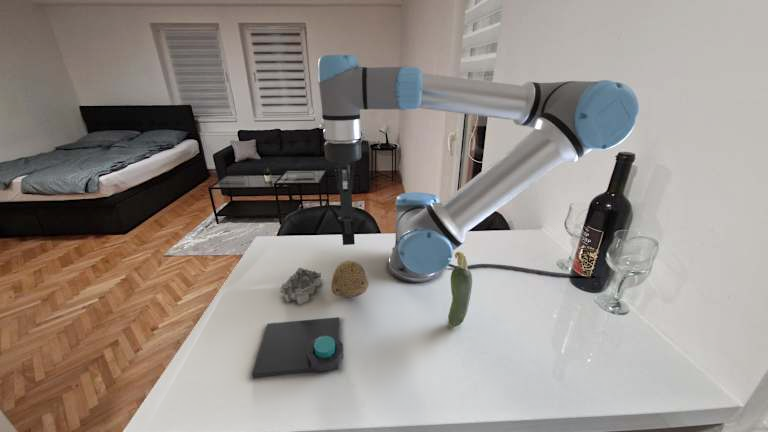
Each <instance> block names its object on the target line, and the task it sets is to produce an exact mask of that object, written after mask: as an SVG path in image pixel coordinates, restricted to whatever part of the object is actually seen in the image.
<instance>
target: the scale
mask: <svg viewBox="0 0 768 432" xmlns="http://www.w3.org/2000/svg"><path fill="white" fill-rule="evenodd" d="M323 336H329V337H332V338H333V339H334V341H335V353H334V354H333V355H332V356H331V357H329V358H326V359H320V358H318V357H317V356H316V355H315V350H314V343H315V341H316V340H317V339H319V338H320V337H323ZM343 359H344V344H343V342H342V341H341V340H340V317H338V316H337V317H328V318H317V319H316V318H315V319H306V320H305V319H304V320H303V319H302V320H294V321H293V320H292V321H283V322H281V321H280V322H270V323H269V322H268V323H267V325H266V328H265V330H264V334H263V336H262V341H261V343H260V346H259V350H258V353H257V356H256V360H255V364H254V366H253V369H252V373H251V375H252V379H261V378H270V377H278V376H279V377H280V376H287V375H288V376H289V375H298V374H306V373H307V374H308V373H314V372H317V373H318V372H326V371H334V370H335V371H336V370H339V369H340V367H339V366H340V364H341V362H342V360H343Z"/></svg>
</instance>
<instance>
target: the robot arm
mask: <svg viewBox="0 0 768 432" xmlns="http://www.w3.org/2000/svg"><path fill="white" fill-rule="evenodd" d="M317 65H318V88H319V97H320V107H321V118H322V123H320V124H319V128H320V129H322V130H323V138H324V139H325V140H326V141H325V143H324V145H323V146H324V157H325V160H326V161H328V162H330V163H337V164H338V166H335V167H334V177H335V179H336V189H337V190H338V191H339V203H340V216H338V219H337V221H341V222H340V223H341V237H342V246H350V245H351V246H352V245H355V244H356V243H355V224H354V223H355V222H354V220H355V219H354V213H356V208H355V207H353V193H352V191H353V190H354V179H355V169H354V166H353V165H350V163H353V162H357V161H359V160H361V158H362V142H361V141H360V139H361V138H362V124H361V121H362V120H361V114H360V113H361V110H365V111H366V110H401V111H405V110H417V109H423V110H432V111H438V112H446V113H447V112H448V113H455V114H462V115H469V116H478V117H487V118H494V119H501V120H503V119H504V120H511V121H512V122H513V123H514V124H515V125H516V126H522V127H529V128H532V129H533V130H532V131H530V132H529V133H528V134H527V135H526V136H524V137H522V139H520V140H519V141H518V142H517V143H516V144H514V145H513V146H512V147H510V148H509V149H508V150H506V151H505V152H504V153H502V155H501V156H499V157H498V158H496V160H494V161H493V162H492V163H490V164H489V165H487V167H486V168H484V169H483V170H481V171H480V172H479V173H478V174H476V175H475V176H474V177H473V178H472V179H470V180H469V181H467V182H466V183H465V184H464V185H463V186H462V187H460V188H458V190H456V191H455V192H454V193H452V194H451V195H450V196H449V197H448V198H447V199H445V200H444V201H442V202H440V198H439V196H438V195H436V194H433V193H430V192H423V191H422V192H421V191H416V192H415V191H411V192H404V193H401V194H399V195H398V196H397V197H396V200H395V244H394V247H392V251H391V254H390V257H389V260H388V269H389V271H390V273H391V275H393V276H394V277H395V278H397V279H399V280H401V281H404V282H408V283H426V282H429V281H432V280H434V279H436V278H437V277H438V276H439V274H440V273H441V272H442V271H444V270H445V269H447V267H450V268H452V269H455V268H456V267H458V266H459V265H454V264H452V263H451V262H452V260H453V256H454V251H455V250H456V249H457V248H459V247H460V246H462V245H463V244H464V243H465V241H466V234H467V233H468V232H469V231H470V230H472V229H473V228H474V227H476V226H477V225H479V224H480V223H482V222H483V221H484V220H485V219H486V218H488V217H490V216H491V215H493V213H494V212H497V210H499V209H500V208H502V207H503V206H504V205H506V204H507V203H508V202H509V201H511V200H513V199H514V198H515V197H516V196H517V195H519V194H521V192H523V191H524V190H526V189H527V188H529V187H530V186H532V185H533V184H534V183H535V182H536V181H538V180H540V179H541V178H542V177H543V176H545V175H546V174H547V173H548V172H550V171H552V170H553V169H554V168H555V167H557V166H558V165H559V164H561V163H563V162H565V163H575V162H577V161H578V160H579V159H581V158H583V157H584V156H585V155H587V154H588V153H589V152H590V151H592V150H594V151H602V150H608V149H611V148H615V147H616V146H618V145H620V144H621V143H622V142H624V141H625V140H626V138H628V137H629V135H630V134H631V133H632V131H633V129H634V128H635V125H636V124H637V120H636V119H637V116H638V115H639V110H640V108H639V100H638V97H637V95H636V93H635V91H634V89H632V88H631V87H630V86H629V85H627V84H625V83H623V82H618V81H613V80H608V79H603V80H597V81H587V80H586V81H585V80H583V81H582V80H569V81H555V82H536V81H535V82H534V81H527V82H525V83H523V84H522V85H520V84H511V83H503V82H495V81H487V80H479V79H471V78H464V77H455V76H448V75H440V74H432V73H424V72H422V70H421V69H420V68H419V67H415V66H414V67H413V66H406V65H402V66H379V67H378V66H375V67H367V66H360V63H359V59H358V57H357V56H356V55H354V54H325V55H322V56H320V58H319V59H318V64H317ZM481 267H486V268H487V267H489V268H501V269H502V268H503V269H511V270H518V271H524V272H531V273H536V274H537V273H538V274H544V275H550V276H558V277H559V276H560V277H572V278H574V277H573V276H572V275H571V274H572V273H566V272H565V273H564V272H556V271H555V272H554V271H549V270H548V271H547V270H541V269H535V268H527V267H522V266H521V267H520V266H514V265H506V264H495V263H477V264H471V265H467V268H468V269H472V268H473V269H474V268H481Z"/></svg>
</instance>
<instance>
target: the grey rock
mask: <svg viewBox="0 0 768 432" xmlns="http://www.w3.org/2000/svg"><path fill="white" fill-rule="evenodd" d="M321 278H322V273H321V272H316V270H311V269H307V268H306V269H304V268H303V267H298V268H297V269H296V271H295V272H294V273H293V274H292V275H290V277H289V278H288V279H287V280H286V281H285V282H284V283H282V284H281V285H280V289H279V294H282V295H283V298H284V301H285V302H288V303H290V302H291V301H296V302H297V305H298V304H299V305H302V304H304V303H307V302H308V301H310V295H311V294H312V295H313V294H314V293H315V290H316V289H315V287H319V286H320V285H321V282H320V280H321ZM295 288H297V289H295ZM293 289H295V290H294V291H293Z"/></svg>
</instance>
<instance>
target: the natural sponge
mask: <svg viewBox="0 0 768 432" xmlns="http://www.w3.org/2000/svg"><path fill="white" fill-rule="evenodd" d="M330 286H331V287H330V289H331V292H332V294H333V295H335V296H337V297H343V298H356V297H359V296H361V295H363V294H364V293H365V292H366V291H367V289H368V287H369V280H368V276H367V273H366V270H365V268H364V267H363V266H362V265H361V264H360V263H358V262H357V261H354V260H346V261H342V262H340V263H339V264H338V265H337V266H336V267H335V269H334V271H333V275H332V280H331V285H330Z"/></svg>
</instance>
